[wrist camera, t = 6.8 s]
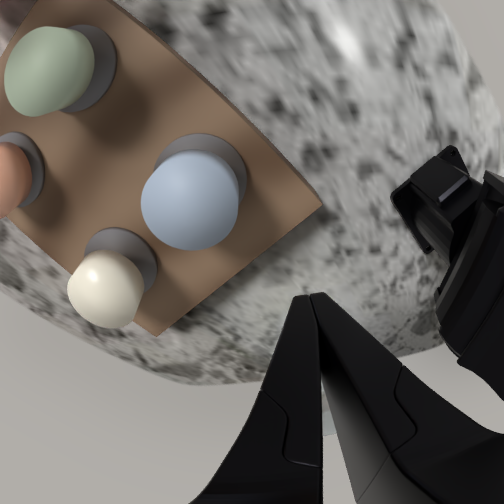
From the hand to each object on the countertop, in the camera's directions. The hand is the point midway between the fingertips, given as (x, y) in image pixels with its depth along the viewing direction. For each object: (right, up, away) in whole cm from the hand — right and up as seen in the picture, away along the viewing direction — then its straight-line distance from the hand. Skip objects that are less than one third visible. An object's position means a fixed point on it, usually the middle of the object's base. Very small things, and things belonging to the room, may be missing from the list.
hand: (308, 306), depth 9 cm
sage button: (-11, +11, +3) cm, 16 cm away
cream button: (-10, 0, +10) cm, 14 cm away
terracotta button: (-17, +6, +7) cm, 19 cm away
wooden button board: (-11, +8, +10) cm, 17 cm away
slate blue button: (-4, +4, +7) cm, 9 cm away
